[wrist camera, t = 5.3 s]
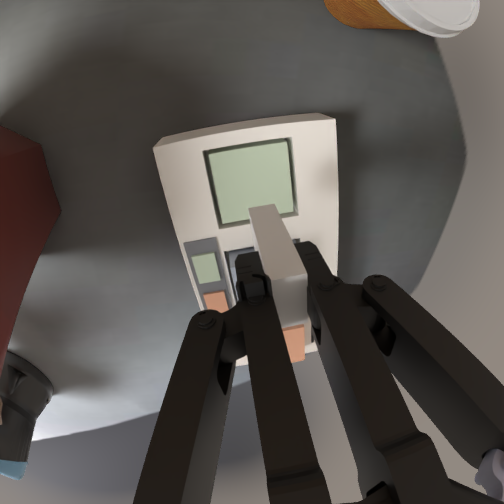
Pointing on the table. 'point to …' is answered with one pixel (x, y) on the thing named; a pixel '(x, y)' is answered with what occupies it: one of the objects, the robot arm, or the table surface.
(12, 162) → the bucket
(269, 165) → the sage key
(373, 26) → the disposable coffee cup
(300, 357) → the terracotta key
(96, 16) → the table surface
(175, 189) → the keypad
